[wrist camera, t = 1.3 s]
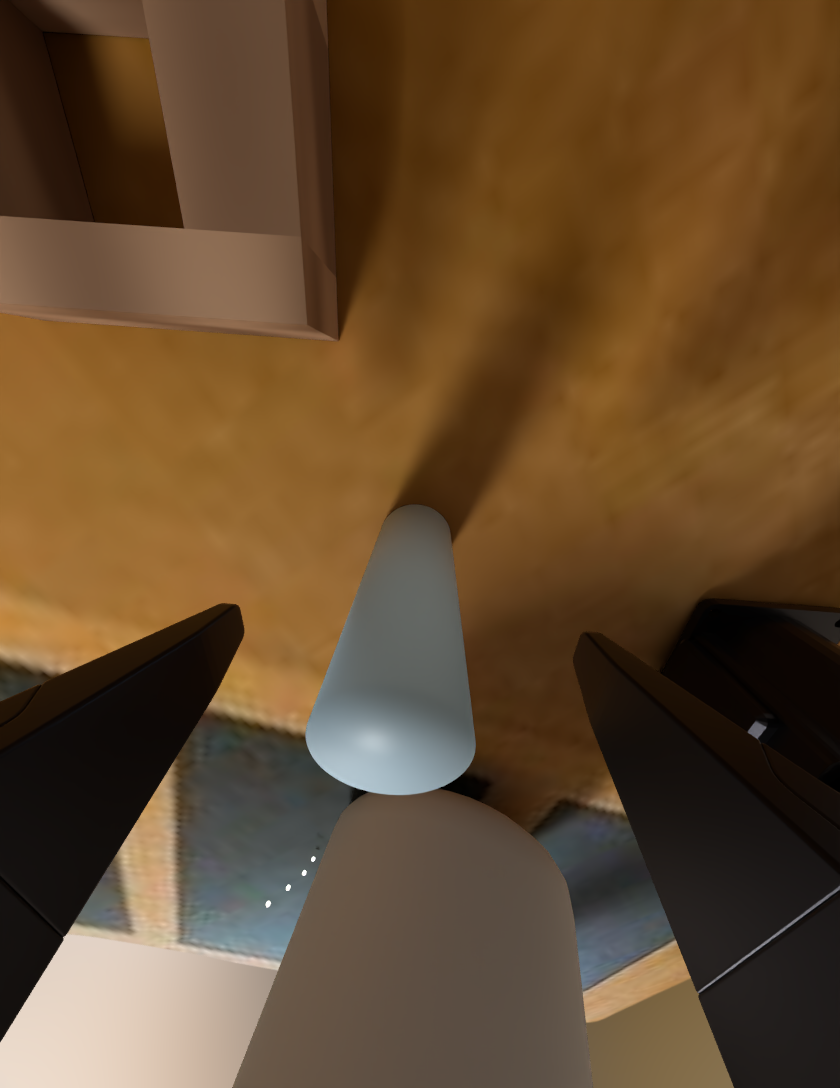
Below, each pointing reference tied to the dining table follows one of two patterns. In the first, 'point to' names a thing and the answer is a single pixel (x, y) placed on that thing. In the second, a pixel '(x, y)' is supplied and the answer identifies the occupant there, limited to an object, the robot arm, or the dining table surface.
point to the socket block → (178, 173)
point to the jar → (427, 959)
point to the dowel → (399, 669)
